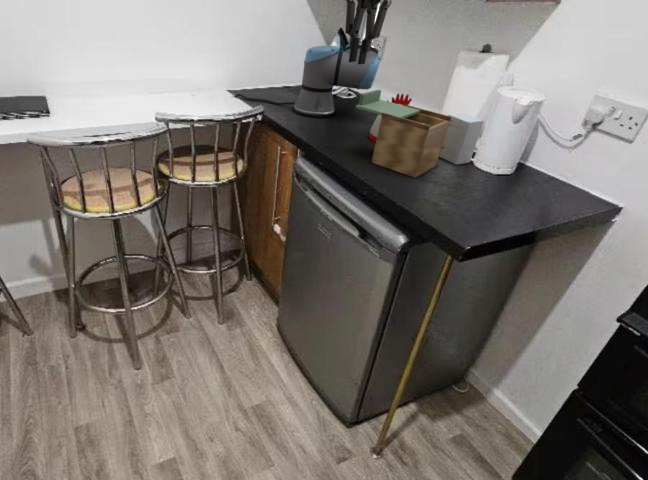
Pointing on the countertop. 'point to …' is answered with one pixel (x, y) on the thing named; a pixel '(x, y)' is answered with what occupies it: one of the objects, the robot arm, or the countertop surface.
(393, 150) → the case
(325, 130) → the countertop surface
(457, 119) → the small box
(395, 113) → the lid
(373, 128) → the white toy chicken
